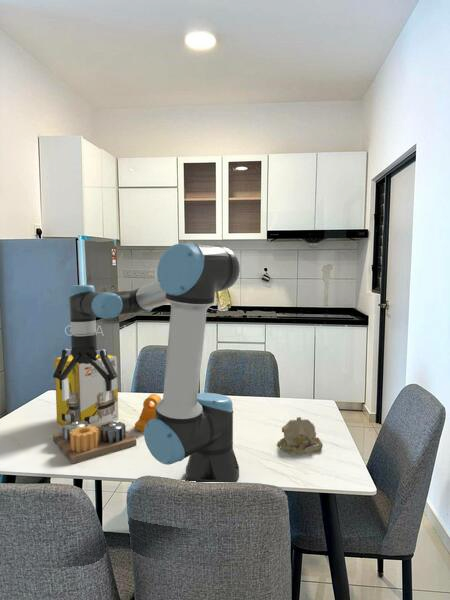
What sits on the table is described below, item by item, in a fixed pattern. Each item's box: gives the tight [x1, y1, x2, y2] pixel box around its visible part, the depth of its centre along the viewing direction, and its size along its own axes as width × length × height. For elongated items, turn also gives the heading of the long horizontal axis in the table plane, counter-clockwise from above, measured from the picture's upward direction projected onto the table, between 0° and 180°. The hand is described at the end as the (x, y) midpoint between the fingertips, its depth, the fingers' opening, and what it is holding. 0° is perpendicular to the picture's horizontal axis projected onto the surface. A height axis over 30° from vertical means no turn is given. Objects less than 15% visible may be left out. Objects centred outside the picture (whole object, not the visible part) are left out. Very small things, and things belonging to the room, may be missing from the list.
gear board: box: [52, 421, 137, 465], centre depth 135 cm, size 21×21×6 cm
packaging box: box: [54, 354, 119, 426], centre depth 154 cm, size 16×16×25 cm
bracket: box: [134, 393, 162, 433], centre depth 146 cm, size 11×7×12 cm, turn 82°
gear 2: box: [99, 421, 127, 444], centre depth 134 cm, size 8×8×5 cm
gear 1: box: [61, 413, 88, 441], centre depth 135 cm, size 8×8×7 cm
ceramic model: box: [277, 416, 323, 455], centre depth 131 cm, size 14×11×10 cm
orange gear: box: [70, 426, 98, 452], centre depth 128 cm, size 8×8×5 cm
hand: (86, 400), depth 127 cm, fingers open, 13 cm apart
